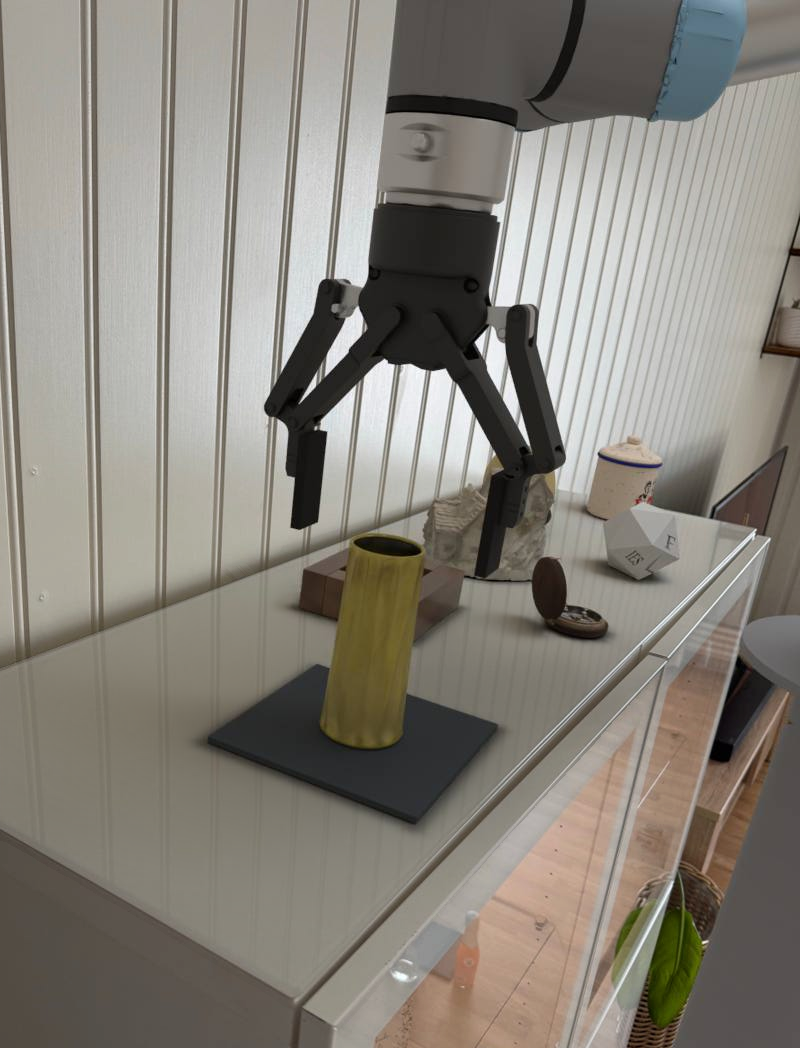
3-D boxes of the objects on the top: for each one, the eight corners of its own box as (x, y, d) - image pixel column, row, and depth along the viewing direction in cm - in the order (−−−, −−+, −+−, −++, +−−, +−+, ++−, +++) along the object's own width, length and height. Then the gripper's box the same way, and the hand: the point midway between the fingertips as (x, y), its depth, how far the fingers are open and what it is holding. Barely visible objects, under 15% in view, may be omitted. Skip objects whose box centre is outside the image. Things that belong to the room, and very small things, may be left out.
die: (597, 583, 113) (666, 531, 107) (575, 527, 118) (639, 474, 112) (642, 603, 118) (710, 554, 111) (618, 548, 123) (682, 499, 117)
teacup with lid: (643, 528, 136) (664, 447, 131) (579, 514, 139) (597, 434, 135) (653, 511, 146) (673, 435, 142) (593, 499, 149) (611, 424, 145)
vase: (402, 755, 68) (435, 564, 62) (316, 744, 68) (341, 552, 62) (400, 715, 73) (430, 537, 68) (321, 705, 73) (344, 526, 68)
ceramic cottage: (536, 543, 122) (554, 425, 115) (556, 593, 107) (578, 460, 101) (413, 535, 122) (424, 417, 116) (416, 583, 108) (429, 451, 101)
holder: (458, 607, 98) (465, 570, 96) (411, 642, 88) (418, 602, 86) (353, 577, 103) (358, 541, 101) (298, 607, 93) (303, 568, 91)
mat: (497, 729, 74) (498, 724, 74) (415, 824, 61) (417, 817, 61) (316, 668, 80) (317, 663, 80) (207, 742, 67) (207, 736, 67)
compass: (618, 640, 95) (636, 570, 92) (545, 639, 93) (561, 567, 90) (581, 609, 102) (596, 543, 99) (512, 607, 100) (526, 540, 97)
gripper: (226, 182, 58) (207, 518, 67) (639, 221, 48) (556, 610, 57) (288, 192, 65) (263, 498, 73) (665, 228, 55) (587, 578, 63)
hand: (391, 548), depth 65 cm, fingers open, 13 cm apart
